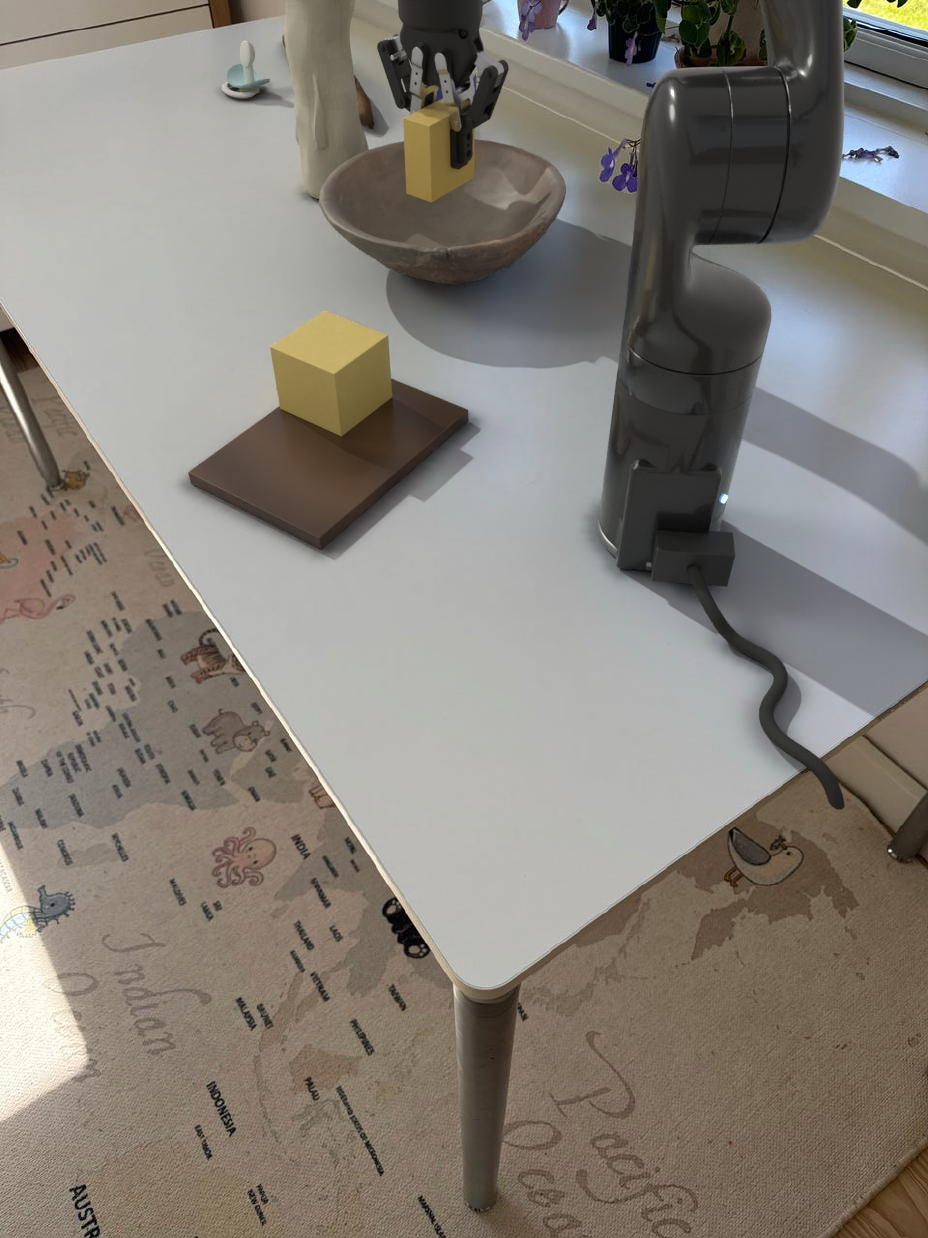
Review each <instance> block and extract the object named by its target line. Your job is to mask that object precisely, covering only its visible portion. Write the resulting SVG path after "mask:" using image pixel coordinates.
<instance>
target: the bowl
mask: <svg viewBox="0 0 928 1238" xmlns="http://www.w3.org/2000/svg"><path fill="white" fill-rule="evenodd" d="M566 196H567V185H566V182H565V180H564V177H563V175H562V174H561V172H560V171H559V169H558V168H557V167H556V166H555V165H554V164H552V163H551V162H550V161H548V160H547V159H545V158H543V157H542V156H540V155H537V154H535V153H533V152H531V151H528V150H525V149H523V148H520V147H517V146H514V145H510V144H506V143H502V142H497V141H492V140H487V139H480V140H477V139H474V178H473V179H471V180H469V181H468V182H466V183H464V184H463V185H461V186H459V187H457V188H456V189H454V190H452V191H451V192H449V193H447V194H445V195H444V196H442V197H440V198H439V199H437V200H435V201H433V202H429V201H426V200H423V199H420V198H417V197H414V196H411V195H408V194H407V192H406V170H405V147H404V140H403V141H398V142H393V143H387V144H384V145H381V146H376V147H373V148H369V150H367V151H365V152H362V153H360V154H358V155H356V156H354V157H352V158H350V159H349V160H347V161H346V162H344V163H343V164H341V165H340V166H339V167H337V168H336V169H335V170H334V171H333V172H332V173H331V174H330V175H329V177H328V178H327V180H326V182H325V183H324V185H323V186H322V188H321V190H320V195H319V199H318V203H319V207H320V209H321V211H322V213H323V216H324V217H325V219H326V220H327V222H328V223H329V225H330V226H332V228H333V229H334V230H335V231H336V232H337V233H338V234H339V235H340V236H341V237H342V238H344V239H345V241H347V242H348V243H349V244H351V245H352V246H354V247H355V248H356V249H358V250H359V251H361V252H362V253H364V254H365V255H367V256H368V257H370V258H372V259H374V260H375V261H377V262H378V263H380V264H381V265H383V266H384V267H386V268H387V269H390V270H392V271H394V272H397V273H400V274H403V275H405V276H410V277H414V278H416V279H417V280H420V281H421V280H424V281H429V282H433V283H436V284H446V285H447V284H448V285H459V284H460V285H461V284H466V283H470V282H473V281H479V280H482V279H484V278H487V277H489V276H492V275H494V274H496V273H498V272H501V273H502V272H504V270H505V269H508V268H510V267H511V266H513V265H514V264H515V263H516V262H517V261H518V260H519V259H520V258H522V256H524V255H525V254H526V253H527V252H528V251H529V250H530V249H531V248H533V247H534V246H535V245H536V244H537V243H538V242H539V241H540V240H541V239H542V238H543V236H544V235H545V234H547V232H548V230H549V229H550V227H551V226H552V224H553V223H554V222H555V220H556V218H557V217H558V215H559V213H560V212H561V210H562V208H563V205H564V203H565V200H566Z"/></svg>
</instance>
